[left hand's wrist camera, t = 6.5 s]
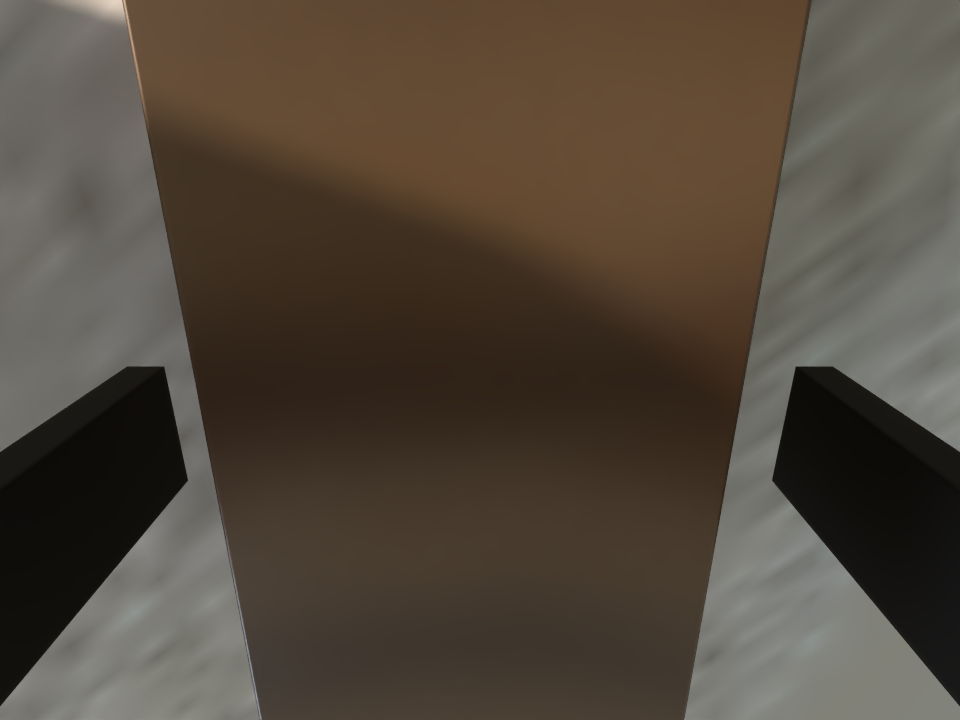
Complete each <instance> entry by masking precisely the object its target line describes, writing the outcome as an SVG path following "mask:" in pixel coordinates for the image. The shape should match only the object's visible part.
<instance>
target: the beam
mask: <svg viewBox="0 0 960 720" xmlns="http://www.w3.org/2000/svg"><path fill="white" fill-rule="evenodd" d="M811 1H812V0H122V2H123V7H124V12H125V17H126V22H127V28H128V33H129V38H130V43H131V49H132V54H133V59H134V64H135V70H136V75H137V80H138V85H139V90H140V96H141V101H142V106H143V111H144V117H145V122H146V127H147V132H148V137H149V143H150V148H151V153H152V158H153V164H154V169H155V174H156V179H157V185H158V190H159V195H160V200H161V205H162V211H163V216H164V221H165V226H166V232H167V237H168V242H169V247H170V253H171V258H172V263H173V268H174V273H175V279H176V284H177V289H178V294H179V300H180V305H181V310H182V315H183V320H184V326H185V331H186V336H187V341H188V347H189V352H190V357H191V362H192V368H193V373H194V378H195V383H196V388H197V394H198V399H199V404H200V409H201V415H202V420H203V425H204V430H205V435H206V441H207V446H208V451H209V456H210V462H211V467H212V472H213V477H214V483H215V488H216V493H217V498H218V503H219V509H220V514H221V519H222V524H223V530H224V535H225V540H226V545H227V551H228V556H229V561H230V566H231V571H232V577H233V582H234V587H235V592H236V598H237V603H238V608H239V613H240V618H241V624H242V629H243V634H244V639H245V645H246V650H247V655H248V660H249V666H250V671H251V676H252V681H253V686H254V692H255V697H256V702H257V707H258V713H259V718H260V720H684V717H685V712H686V706H687V700H688V695H689V689H690V683H691V678H692V672H693V666H694V661H695V655H696V649H697V644H698V638H699V633H700V627H701V621H702V616H703V610H704V604H705V599H706V593H707V587H708V582H709V576H710V570H711V565H712V559H713V554H714V548H715V542H716V537H717V531H718V525H719V520H720V514H721V508H722V503H723V497H724V491H725V486H726V480H727V475H728V469H729V463H730V458H731V452H732V446H733V441H734V435H735V429H736V424H737V418H738V412H739V407H740V401H741V396H742V390H743V384H744V379H745V373H746V367H747V362H748V356H749V350H750V345H751V339H752V334H753V328H754V322H755V317H756V311H757V305H758V300H759V294H760V288H761V283H762V277H763V271H764V266H765V260H766V255H767V249H768V243H769V238H770V232H771V226H772V221H773V215H774V209H775V204H776V198H777V192H778V187H779V181H780V176H781V170H782V164H783V159H784V153H785V147H786V142H787V136H788V130H789V125H790V119H791V113H792V108H793V102H794V97H795V91H796V85H797V80H798V74H799V68H800V63H801V57H802V51H803V46H804V40H805V34H806V29H807V23H808V18H809V12H810V6H811Z"/></svg>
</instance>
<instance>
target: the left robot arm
mask: <svg viewBox="0 0 960 720" xmlns="http://www.w3.org/2000/svg"><path fill="white" fill-rule="evenodd" d="M187 481H188V478H187V474H186V469H185V464H184V459H183V454H182V450H181V445H180V440H179V435H178V430H177V426H176V421H175V416H174V411H173V407H172V402H171V397H170V392H169V387H168V383H167V378H166V373H165V368H164V367H126V368H124V369H123V370H121V371H120V372H119V373H117V374H116V375H114V376H113V377H111V378H110V379H108V380H107V381H105V382H104V383H102V384H101V385H99V386H98V387H96V388H95V389H93V390H92V391H90V392H89V393H87V394H86V395H84V396H83V397H81V398H80V399H78V400H77V401H75V402H74V403H72V404H71V405H69V406H68V407H67V408H65V409H64V410H62V411H61V412H59V413H58V414H56V415H55V416H53V417H52V418H50V419H49V420H47V421H46V422H44V423H43V424H41V425H40V426H38V427H37V428H35V429H34V430H32V431H31V432H29V433H28V434H26V435H25V436H23V437H22V438H20V439H19V440H17V441H16V442H15V443H13V444H12V445H10V446H9V447H7V448H6V449H4V450H3V451H1V452H0V706H1V705H2V703H3V702H4V701H5V700H6V699H7V697H8V696H9V695H10V694H11V693H12V691H13V690H14V689H15V688H16V687H17V685H18V684H19V683H20V682H21V681H22V679H23V678H24V677H25V676H26V675H27V673H28V672H29V671H30V670H31V669H32V667H33V666H34V665H35V664H36V663H37V661H38V660H39V659H40V658H41V657H42V655H43V654H44V653H45V652H46V651H47V649H48V648H49V647H50V646H51V644H52V643H53V642H54V641H55V640H56V638H57V637H58V636H59V635H60V634H61V632H62V631H63V630H64V629H65V628H66V626H67V625H68V624H69V623H70V622H71V620H72V619H73V618H74V617H75V616H76V614H77V613H78V612H79V611H80V610H81V608H82V607H83V606H84V605H85V604H86V602H87V601H88V600H89V599H90V598H91V596H92V595H93V594H94V593H95V592H96V590H97V589H98V588H99V587H100V586H101V584H102V583H103V582H104V581H105V580H106V578H107V577H108V576H109V575H110V574H111V572H112V571H113V570H114V569H115V568H116V566H117V565H118V564H119V563H120V562H121V560H122V559H123V558H124V557H125V556H126V554H127V553H128V552H129V551H130V549H131V548H132V547H133V546H134V545H135V543H136V542H137V541H138V540H139V539H140V537H141V536H142V535H143V534H144V533H145V531H146V530H147V529H148V528H149V527H150V525H151V524H152V523H153V522H154V521H155V519H156V518H157V517H158V516H159V515H160V513H161V512H162V511H163V510H164V509H165V507H166V506H167V505H168V504H169V503H170V501H171V500H172V499H173V498H174V497H175V495H176V494H177V493H178V492H179V491H180V489H181V488H182V487H183V486H184V485H185V483H186V482H187ZM772 481H773V482H774V483H775V485H776V486H777V487H778V488H779V489H780V491H781V492H782V493H783V494H784V495H785V497H786V498H787V499H788V500H789V501H790V503H791V504H792V505H793V506H794V507H795V509H796V510H797V511H798V512H799V513H800V515H801V516H802V517H803V518H804V519H805V521H806V522H807V523H808V524H809V525H810V527H811V528H812V529H813V530H814V531H815V533H816V534H817V535H818V536H819V537H820V539H821V540H822V541H823V542H824V543H825V545H826V546H827V547H828V548H829V549H830V551H831V552H832V553H833V554H834V556H835V557H836V558H837V559H838V560H839V562H840V563H841V564H842V565H843V566H844V568H845V569H846V570H847V571H848V572H849V574H850V575H851V576H852V577H853V578H854V580H855V581H856V582H857V583H858V584H859V586H860V587H861V588H862V589H863V590H864V592H865V593H866V594H867V595H868V596H869V598H870V599H871V600H872V601H873V602H874V604H875V605H876V606H877V607H878V608H879V610H880V611H881V612H882V613H883V614H884V616H885V617H886V618H887V619H888V620H889V622H890V623H891V624H892V625H893V626H894V628H895V629H896V630H897V631H898V632H899V634H900V635H901V636H902V637H903V638H904V640H905V641H906V642H907V643H908V644H909V646H910V647H911V648H912V649H913V651H914V652H915V653H916V654H917V655H918V657H919V658H920V659H921V660H922V661H923V663H924V664H925V665H926V666H927V667H928V668H929V670H930V671H931V672H932V673H933V675H934V676H935V677H936V678H937V679H938V681H939V682H940V683H941V684H942V685H943V687H944V688H945V689H946V690H947V691H948V692H949V694H950V695H951V696H952V697H953V698H954V700H955V701H956V702H957V703H958V705H959V706H960V452H959V451H957V450H956V449H954V448H953V447H951V446H950V445H948V444H947V443H945V442H944V441H943V440H941V439H940V438H938V437H937V436H935V435H934V434H932V433H931V432H929V431H928V430H926V429H925V428H923V427H922V426H920V425H919V424H917V423H916V422H914V421H913V420H911V419H910V418H908V417H907V416H905V415H904V414H902V413H901V412H899V411H898V410H896V409H895V408H893V407H892V406H891V405H889V404H888V403H886V402H885V401H883V400H882V399H880V398H879V397H877V396H876V395H874V394H873V393H871V392H870V391H868V390H867V389H865V388H864V387H862V386H861V385H859V384H858V383H856V382H855V381H853V380H852V379H850V378H849V377H847V376H846V375H844V374H843V373H841V372H840V371H839V370H837V369H836V368H834V367H796V368H795V373H794V378H793V383H792V387H791V392H790V397H789V402H788V407H787V411H786V416H785V421H784V426H783V430H782V435H781V440H780V445H779V450H778V454H777V459H776V464H775V469H774V474H773V478H772Z"/></svg>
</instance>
